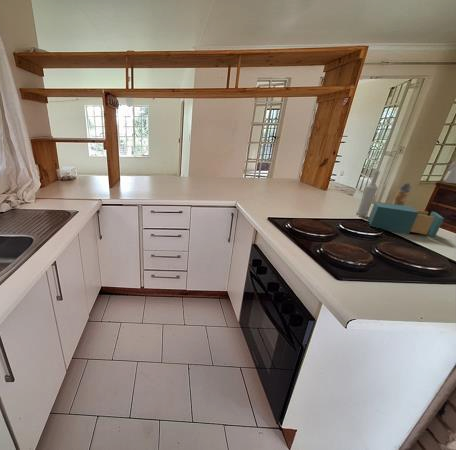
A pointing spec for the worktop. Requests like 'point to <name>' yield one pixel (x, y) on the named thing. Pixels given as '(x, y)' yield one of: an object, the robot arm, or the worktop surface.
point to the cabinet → (392, 217)
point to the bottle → (368, 196)
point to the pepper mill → (402, 195)
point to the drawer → (427, 223)
